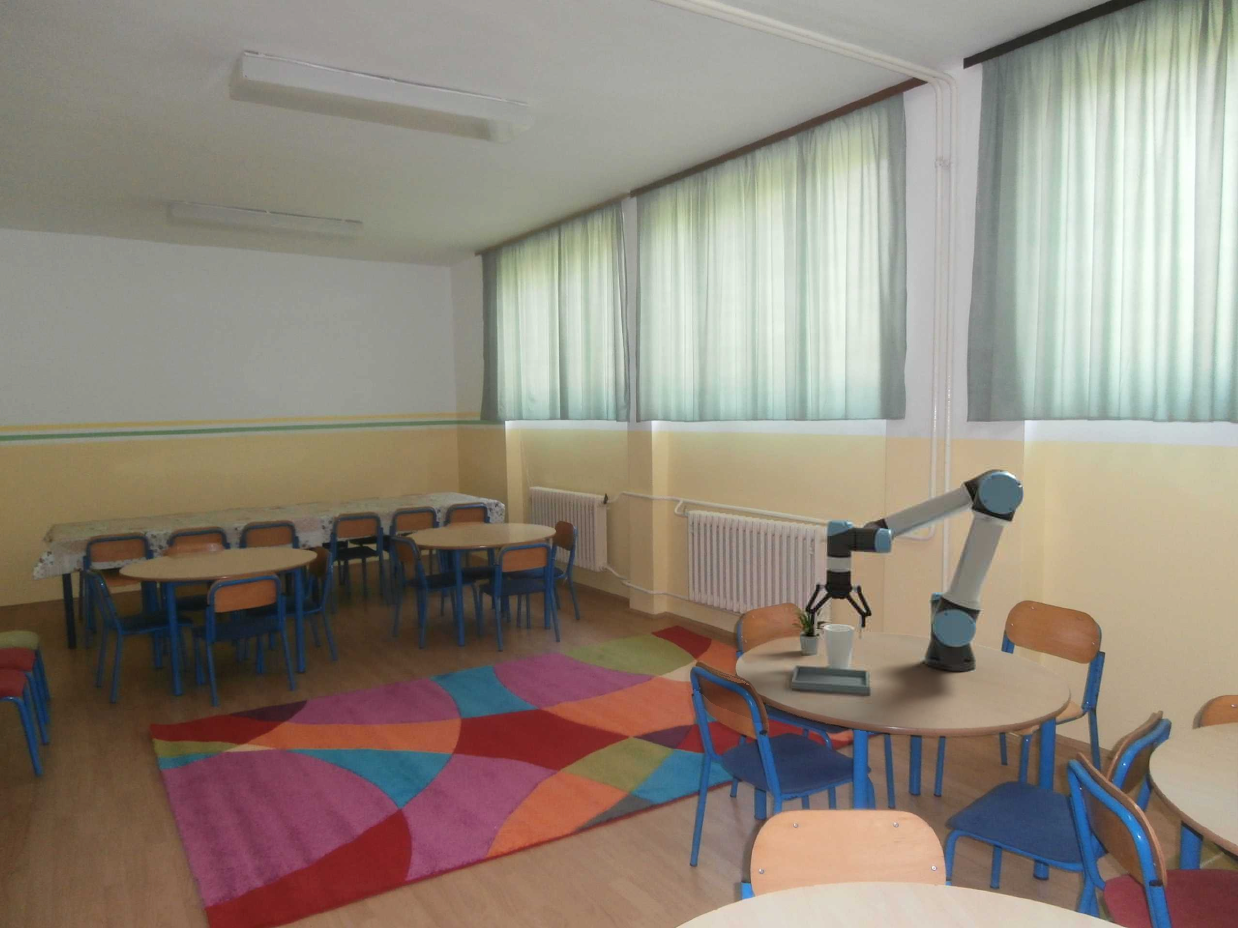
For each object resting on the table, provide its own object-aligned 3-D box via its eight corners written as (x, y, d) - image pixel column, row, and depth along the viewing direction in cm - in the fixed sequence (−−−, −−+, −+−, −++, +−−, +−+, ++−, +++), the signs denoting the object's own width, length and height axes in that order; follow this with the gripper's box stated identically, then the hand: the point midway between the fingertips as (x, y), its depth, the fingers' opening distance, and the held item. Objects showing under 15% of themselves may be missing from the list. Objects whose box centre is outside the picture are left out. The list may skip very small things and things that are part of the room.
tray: (869, 678, 254) (869, 670, 254) (869, 695, 239) (869, 686, 239) (795, 673, 260) (795, 665, 260) (791, 689, 245) (791, 681, 245)
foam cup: (851, 664, 268) (851, 624, 268) (857, 673, 259) (857, 631, 258) (821, 663, 269) (821, 624, 268) (825, 672, 260) (825, 631, 259)
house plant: (788, 659, 275) (788, 610, 274) (781, 647, 289) (781, 600, 288) (832, 658, 274) (832, 609, 273) (823, 647, 288) (823, 600, 287)
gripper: (880, 569, 262) (878, 635, 264) (799, 565, 269) (798, 629, 271) (880, 573, 255) (879, 641, 257) (797, 569, 262) (796, 635, 263)
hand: (837, 635), depth 264 cm, fingers open, 13 cm apart
